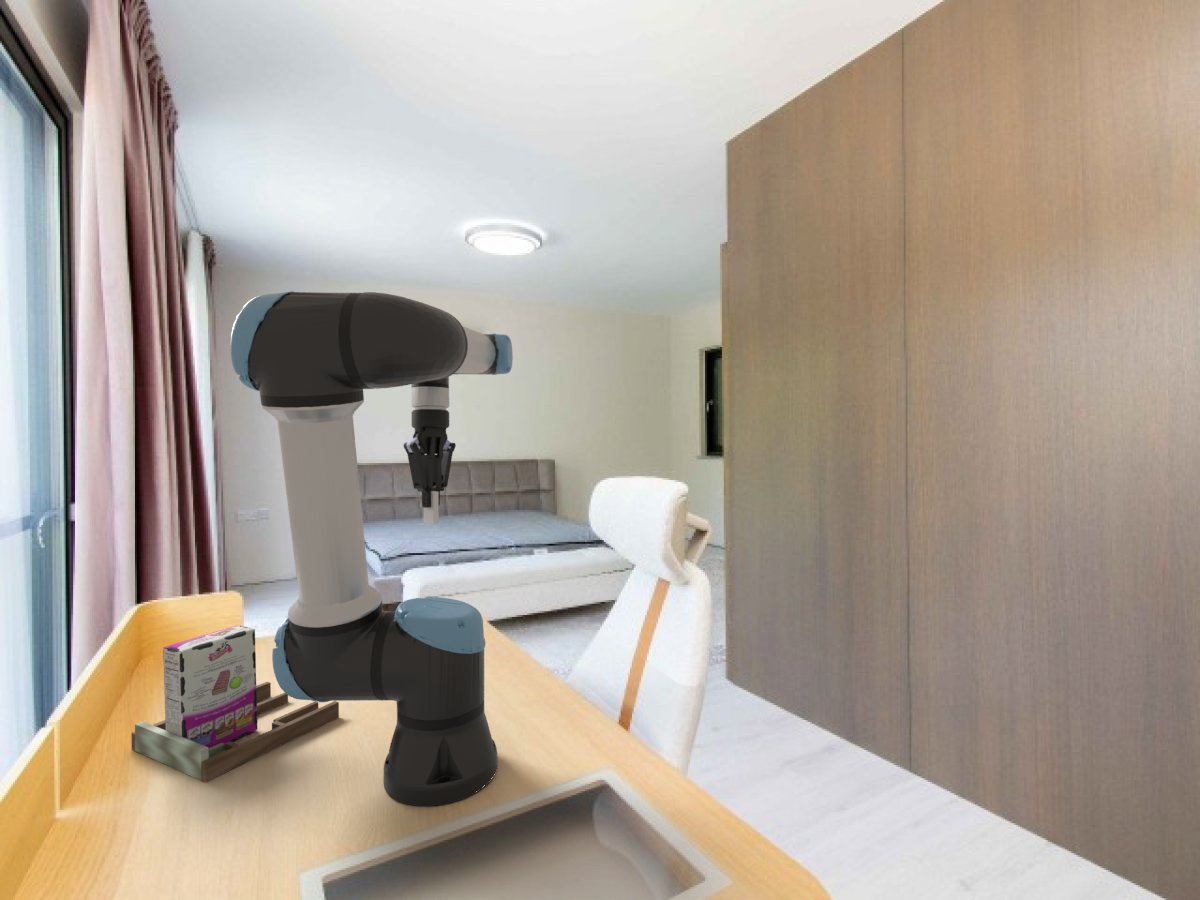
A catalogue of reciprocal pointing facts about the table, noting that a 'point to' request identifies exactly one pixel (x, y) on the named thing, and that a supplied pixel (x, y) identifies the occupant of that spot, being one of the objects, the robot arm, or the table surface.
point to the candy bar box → (211, 686)
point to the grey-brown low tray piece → (230, 755)
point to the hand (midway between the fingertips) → (431, 522)
